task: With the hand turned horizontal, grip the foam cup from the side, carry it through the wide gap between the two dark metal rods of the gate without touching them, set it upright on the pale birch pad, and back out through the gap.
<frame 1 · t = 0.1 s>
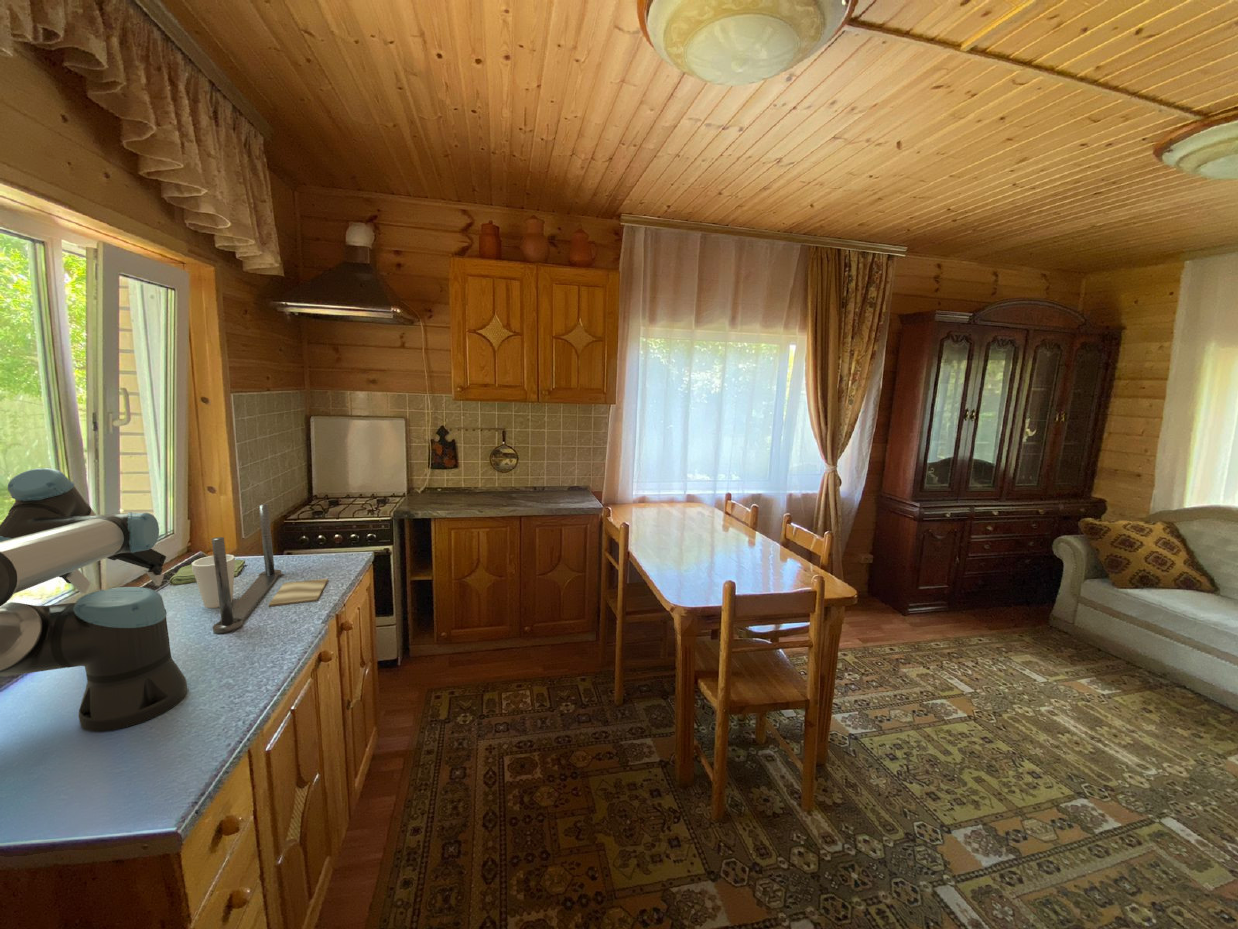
hand: (123, 584, 116), 15 cm above the table, tool tilted 35°, fingers open, 13 cm apart
rod gate: (251, 599, 143), on the table
birch pad: (300, 592, 148), on the table
foam cup: (218, 603, 140), on the table
washcloth: (209, 576, 160), on the table
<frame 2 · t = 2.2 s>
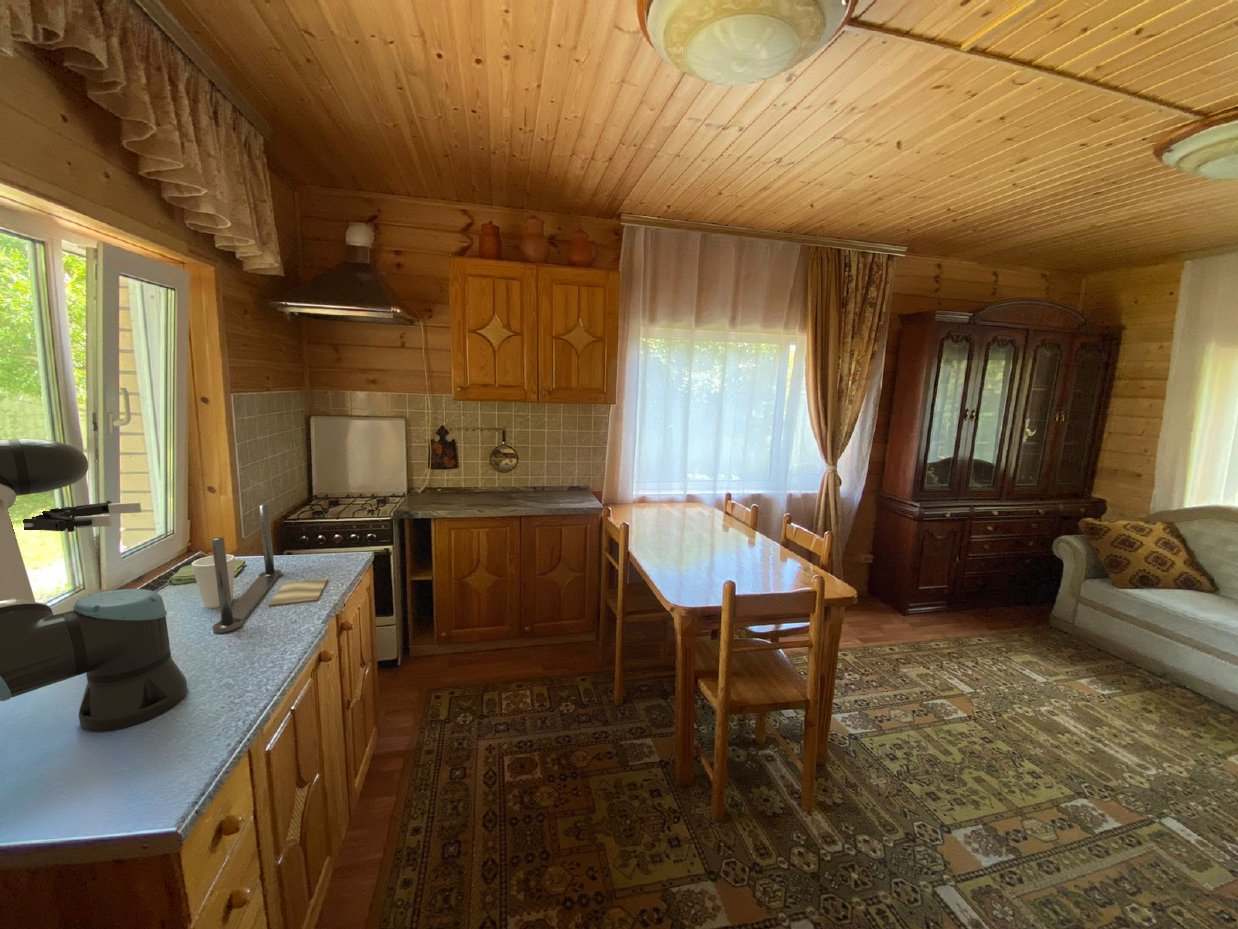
hand: (126, 513, 130), 28 cm above the table, tool horizontal, fingers open, 13 cm apart
nothing on the table moved.
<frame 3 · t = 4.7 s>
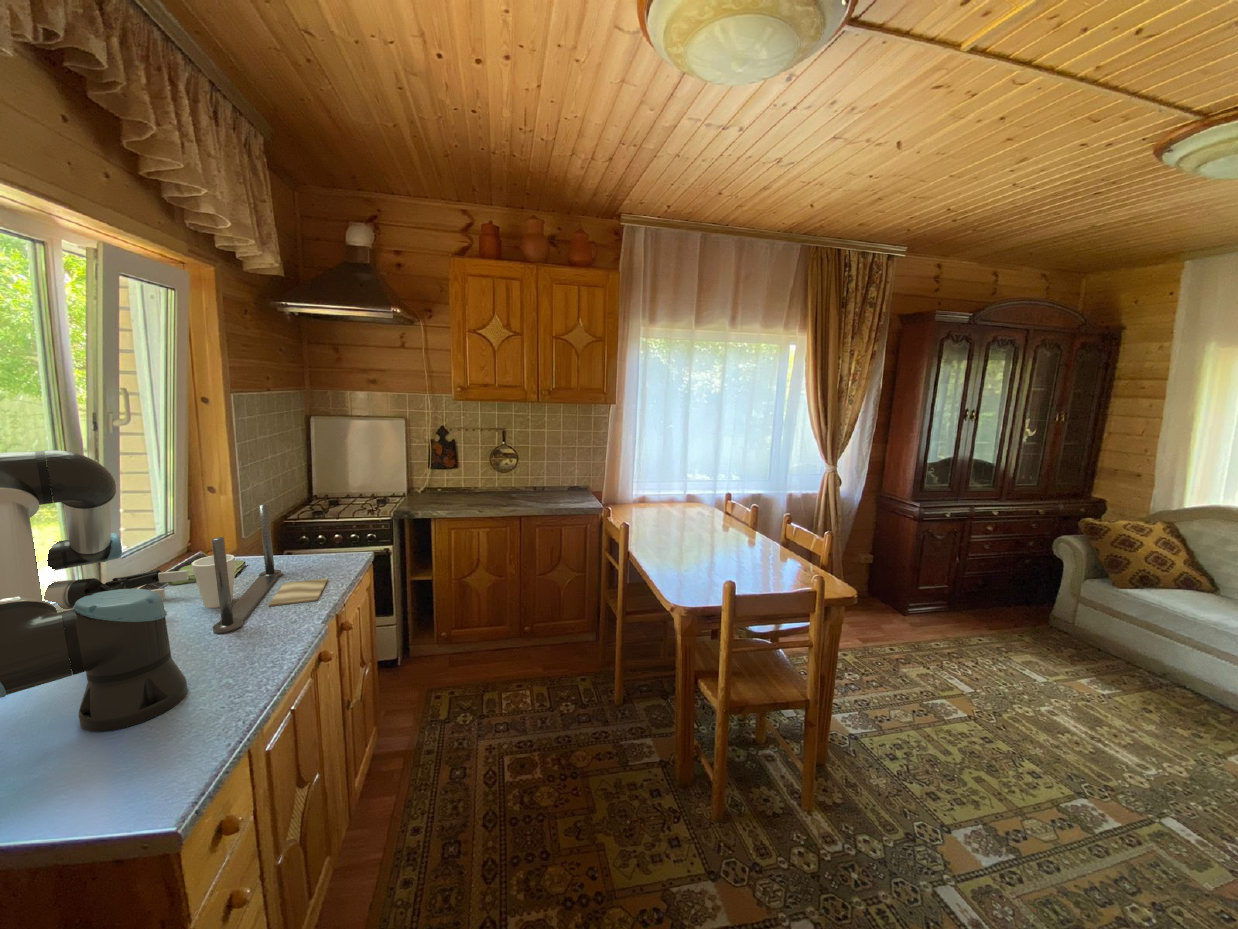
hand: (176, 584, 136), 7 cm above the table, tool horizontal, fingers open, 13 cm apart
nothing on the table moved.
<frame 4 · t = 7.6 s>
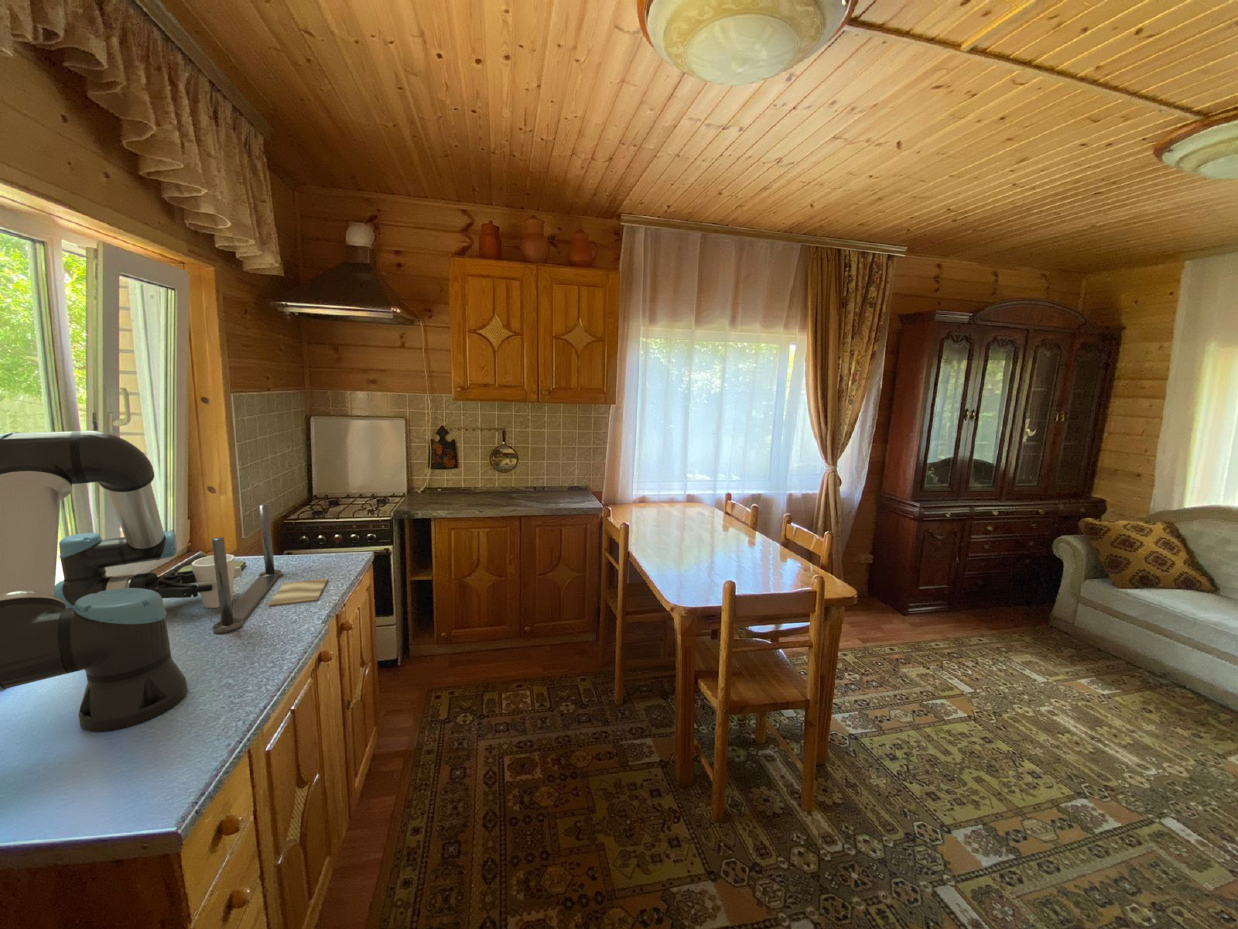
hand: (234, 578, 141), 7 cm above the table, tool horizontal, fingers closed on foam cup, 9 cm apart
foam cup: (218, 603, 140), on the table, touching gripper
everything else where it was.
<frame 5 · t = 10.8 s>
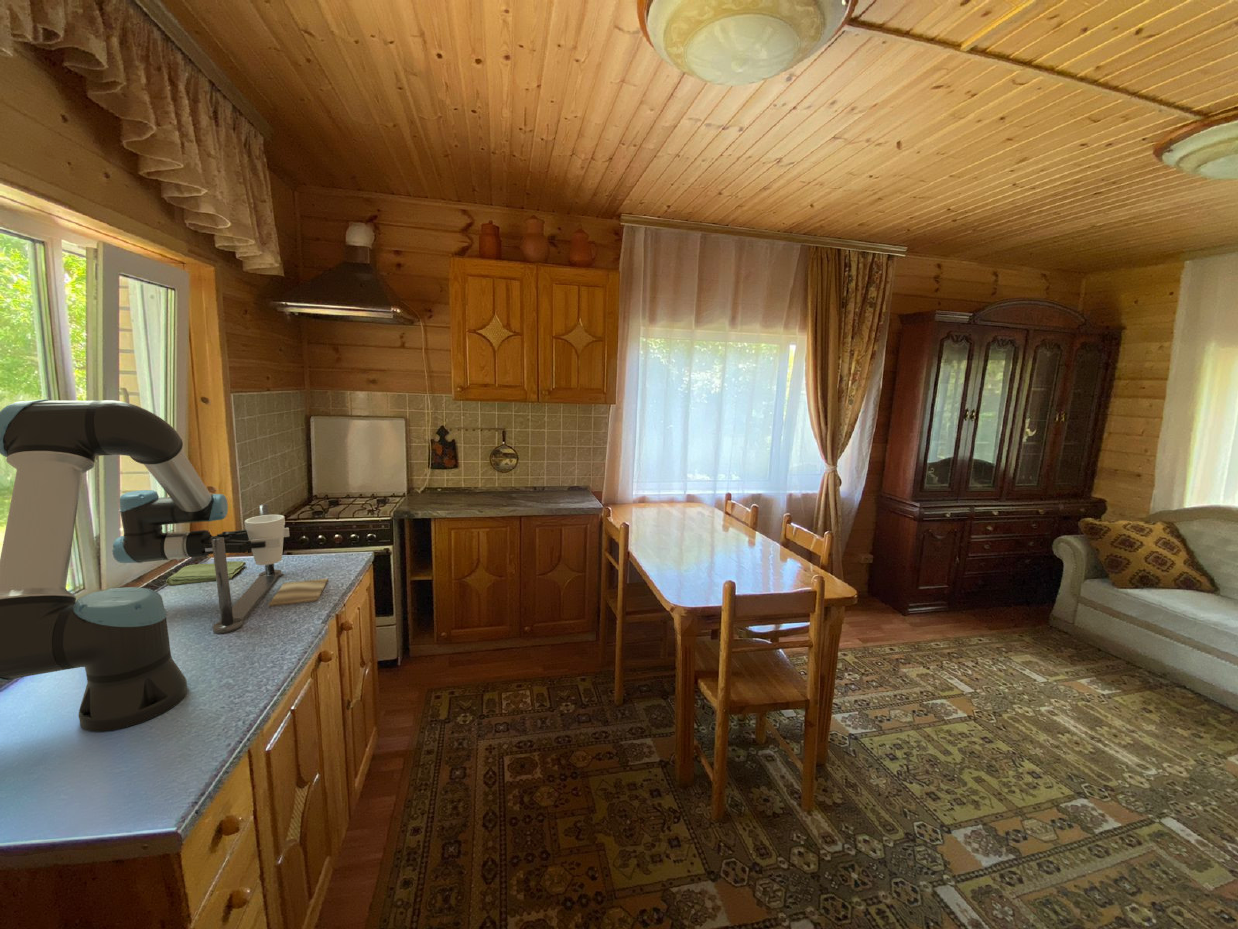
hand: (284, 537, 145), 18 cm above the table, tool horizontal, fingers closed on foam cup, 9 cm apart
foam cup: (269, 561, 144), point 11 cm above the table, touching gripper
everything else where it was.
when the fingers open (9 cm above the table, at t = 14.0 s): foam cup drops 1 cm, resting on birch pad.
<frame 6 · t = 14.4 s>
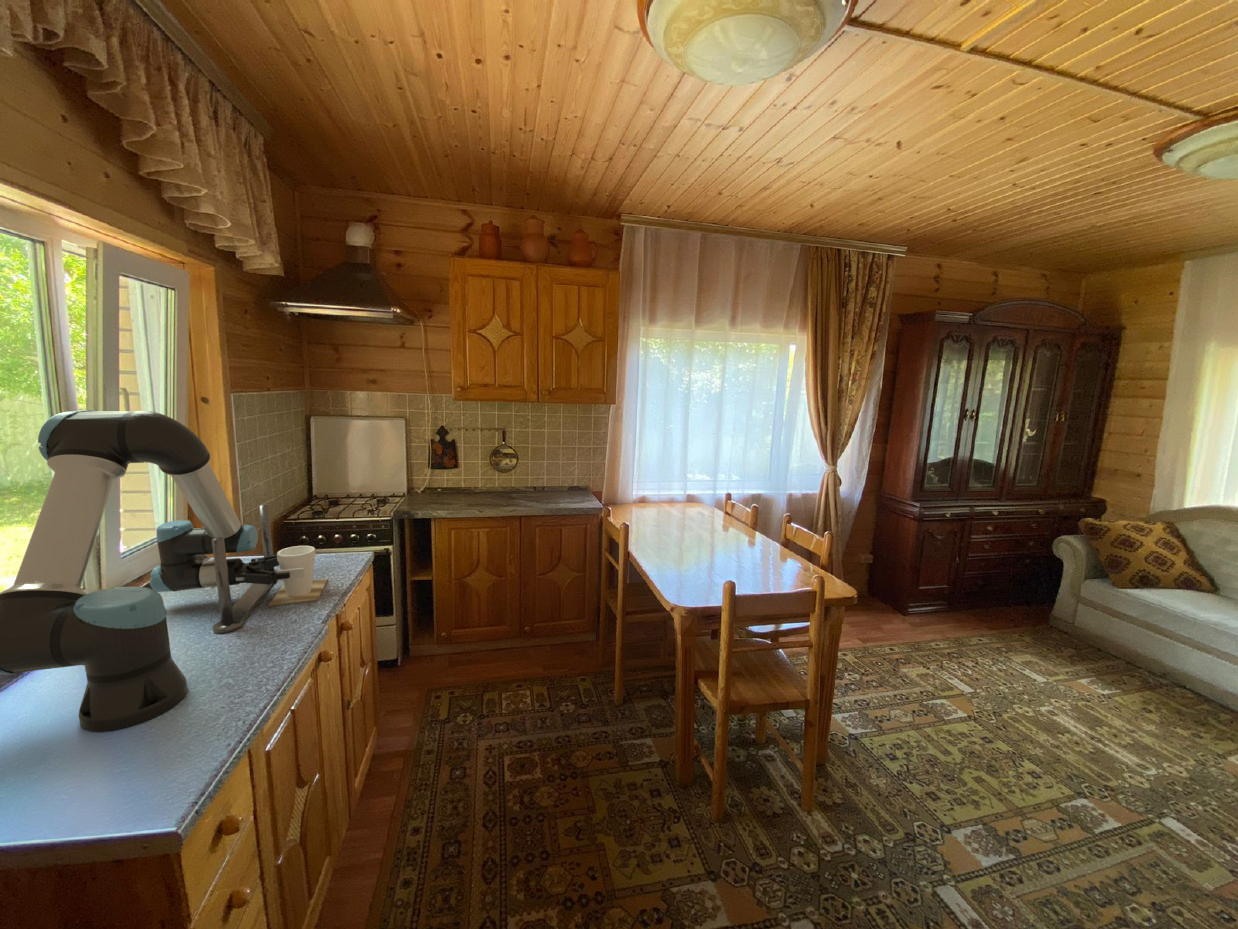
hand: (309, 564, 147), 9 cm above the table, tool horizontal, fingers open, 13 cm apart
foam cup: (299, 592, 147), resting on birch pad
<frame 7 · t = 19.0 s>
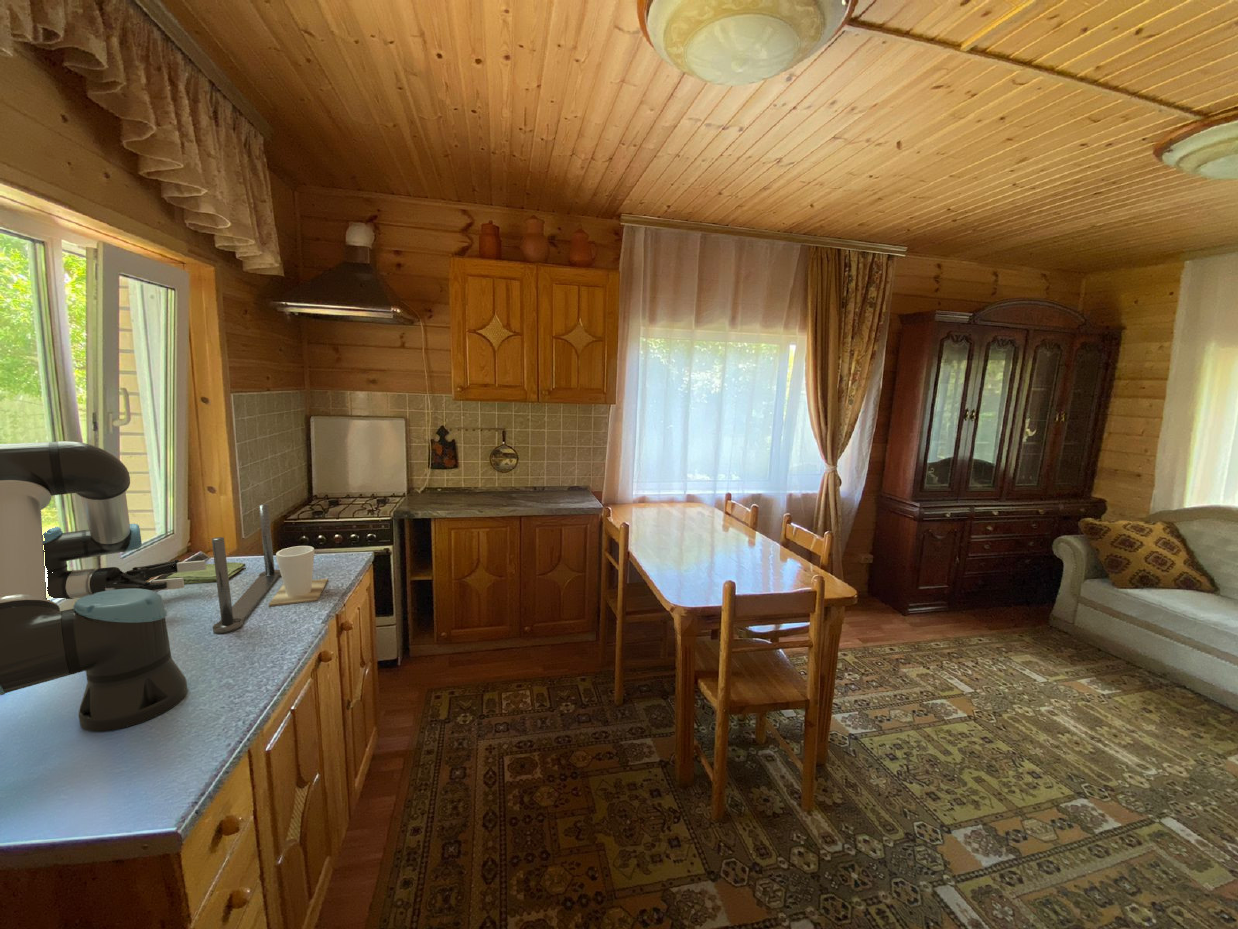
hand: (194, 573, 138), 9 cm above the table, tool horizontal, fingers open, 13 cm apart
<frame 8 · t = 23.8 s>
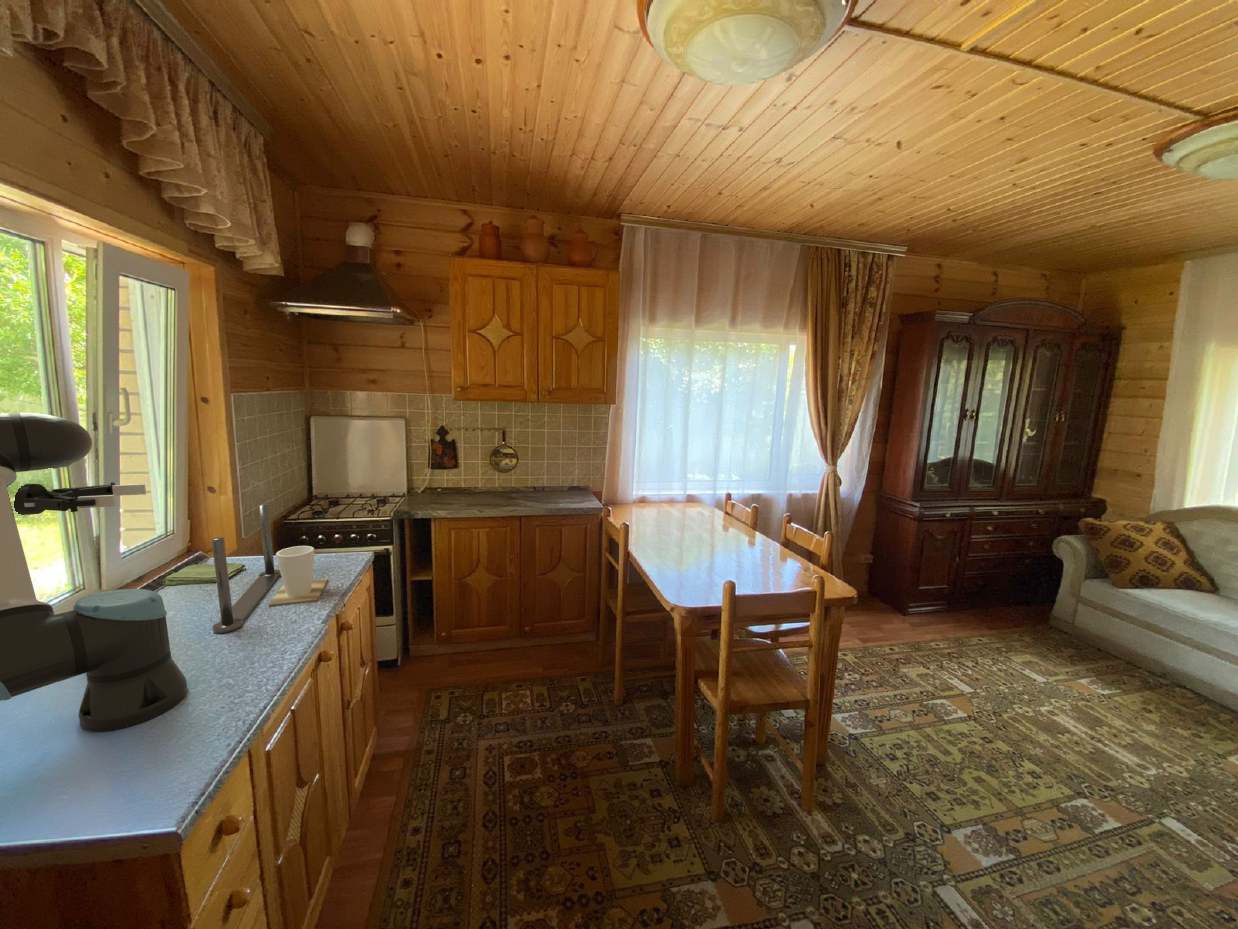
hand: (130, 494, 125), 34 cm above the table, tool horizontal, fingers open, 13 cm apart
at the end: foam cup inside the target area on the birch pad (1.0 cm from its centre), point 0.4 cm above the birch pad's base; foam cup tilted 0°; rod gate moved 0.0 cm from its start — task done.
